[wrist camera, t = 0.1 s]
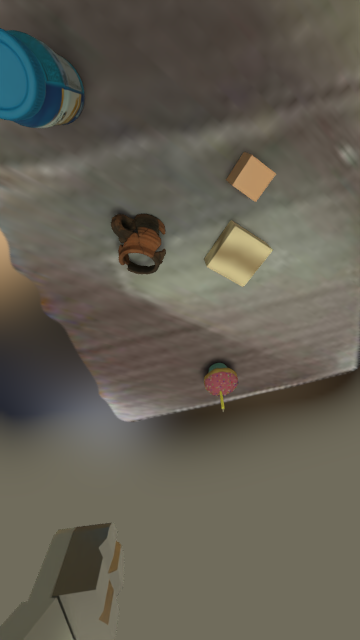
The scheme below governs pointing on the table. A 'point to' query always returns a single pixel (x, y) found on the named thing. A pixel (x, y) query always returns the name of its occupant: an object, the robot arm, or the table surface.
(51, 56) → the vitamin bottle
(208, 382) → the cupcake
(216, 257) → the beech block
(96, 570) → the robot arm
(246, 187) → the terracotta cube
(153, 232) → the brown rounded piece
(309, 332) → the table surface
